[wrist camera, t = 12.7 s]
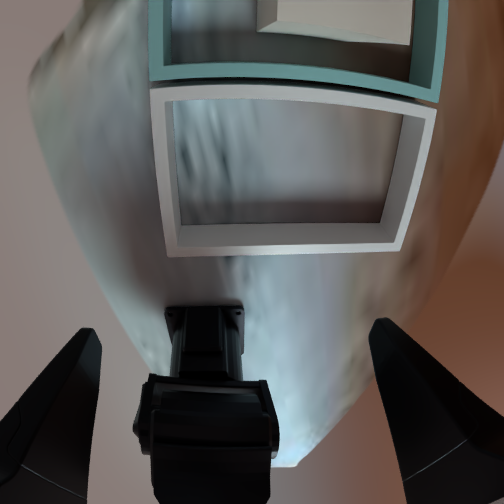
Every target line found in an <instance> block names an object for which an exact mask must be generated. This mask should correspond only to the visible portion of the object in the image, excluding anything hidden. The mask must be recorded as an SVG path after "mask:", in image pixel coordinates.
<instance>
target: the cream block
mask: <svg viewBox="0 0 504 504" xmlns="http://www.w3.org/2000/svg"><path fill="white" fill-rule="evenodd" d="M411 19H412V0H258V1H257V25H256V32H267V33H282V34H293V35H303V36H311V37H319V38H326V39H333V40H339V41H344V42H375V43H390V44H402V45H409V44H410V33H411Z"/></svg>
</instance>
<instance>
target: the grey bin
mask: <svg viewBox="0 0 504 504" xmlns="http://www.w3.org/2000/svg"><path fill="white" fill-rule="evenodd" d="M199 99H275V100H294V101H309V102H320V103H331V104H340V105H348V106H356V107H363V108H370V109H377V110H383V111H389V112H395V113H400V114H404V116H403V122H402V127H401V133H400V138H399V143H398V148H397V153H396V158H395V163H394V167H393V172H392V176H391V181H390V185H389V189H388V193H387V197H386V201H385V205H384V209H383V213H382V217H381V221H380V223H266V224H216V225H181V215H180V205H179V194H178V182H177V170H176V156H175V140H174V123H173V101H180V100H199ZM150 105H151V120H152V133H153V145H154V156H155V166H156V176H157V185H158V193H159V201H160V209H161V217H162V224H163V231H164V238H165V245H166V251H167V257H203V256H242V255H279V254H316V253H351V252H385V251H400V249H401V246H402V243H403V240H404V237H405V234H406V231H407V227H408V224H409V221H410V218H411V215H412V211H413V208H414V205H415V201H416V198H417V194H418V191H419V187H420V183H421V179H422V176H423V172H424V168H425V164H426V159H427V155H428V151H429V147H430V142H431V137H432V133H433V128H434V123H435V117H436V112H437V109H434V108H432V107H430V106H427V105H425V104H423V103H420V102H418V101H416V100H412V99H407V98H402V97H398V96H393V95H388V94H382V93H377V92H371V91H365V90H359V89H352V88H345V87H337V86H329V85H319V84H309V83H297V82H282V81H259V80H211V81H188V82H173V83H161V84H158V85H156V86H154V87H153V88H151V89H150Z"/></svg>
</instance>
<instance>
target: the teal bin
mask: <svg viewBox="0 0 504 504" xmlns="http://www.w3.org/2000/svg"><path fill="white" fill-rule="evenodd" d="M171 12H172V0H148V59H149V81H158V80H170V79H184V78H203V77H265V78H285V79H299V80H311V81H321V82H330V83H338V84H345V85H352V86H359V87H365V88H371V89H377V90H382V91H387V92H392V93H397V94H402V95H406V96H411V97H415V98H419V99H423V100H427V101H431V102H435V103H438V100H439V94H440V88H441V81H442V73H443V65H444V57H445V47H446V35H447V19H448V0H416V1H415V21H414V35H413V47H412V57H411V66H410V75H409V82H405V81H401V80H397V79H392V78H388V77H383V76H378V75H373V74H367V73H362V72H356V71H350V70H343V69H336V68H329V67H321V66H312V65H302V64H290V63H274V62H247V61H218V62H192V63H176V64H171Z"/></svg>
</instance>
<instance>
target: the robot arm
mask: <svg viewBox="0 0 504 504" xmlns="http://www.w3.org/2000/svg"><path fill="white" fill-rule="evenodd" d="M237 311H239V312H237ZM169 312H170V313H169ZM164 315H165V319H166V323H167V327H168V331H169V335H170V339H171V343H172V354H171V365H170V376H160V375H157V374H152V373H150V374H149V378H148V382H145V384H143V385H142V393H141V400H140V405H139V408H138V411H137V414H136V417H135V420H134V423H133V432H134V434H135V435H136V436H137V437H138V438H139V443H140V444H141V451H142V454H144V455H150V459H151V482H152V486H153V488H154V495H155V497H156V499H157V500H158V502H159V504H266V503H267V501H268V500H269V498H270V468H271V459H274V458H275V457H276V456H277V453H278V449H279V441H280V433H279V423H278V419H277V415H276V411H275V408H274V405H273V401H272V398H271V394H270V391H269V388H268V384H267V381H266V380H259V381H243V373H242V360H241V355H242V354H243V353H244V317H245V312H244V308H243V307H242V306H239V305H235V306H193V307H167V308H166V309H165V313H164ZM368 339H369V345H370V350H371V356H372V361H373V366H374V372H375V377H376V381H377V384H378V388H379V392H380V395H381V399H382V402H383V406H384V409H385V413H386V417H387V420H388V424H389V428H390V432H391V435H392V439H393V443H394V447H395V451H396V455H397V460H398V463H399V468H400V473H401V477H402V481H403V486H404V492H405V496H406V501H407V504H504V417H503V416H501V415H500V414H499V413H498V412H496V411H495V410H494V409H492V408H491V407H490V406H489V405H487V404H486V403H485V402H483V401H482V400H481V399H480V398H479V397H477V396H476V395H475V394H474V393H473V392H472V391H470V390H469V389H468V388H467V387H466V386H465V385H464V384H463V383H461V382H459V380H458V379H457V378H456V377H455V376H454V375H453V374H452V373H451V372H449V371H448V370H447V369H446V368H445V367H444V366H443V365H442V364H441V363H439V362H438V361H437V360H436V359H435V358H434V357H433V356H432V355H430V354H429V353H428V352H427V351H426V350H425V349H424V348H423V347H421V346H420V345H419V344H418V343H417V342H416V341H414V340H413V339H412V338H411V337H410V336H409V335H408V334H407V333H405V332H404V331H403V330H402V329H401V328H400V327H399V326H397V325H396V324H395V323H394V322H393V321H392V320H390V319H389V318H387V317H385V318H378V319H376V320H375V322H374V324H373V326H372V329H371V331H370V333H369V338H368ZM101 356H102V345H101V343H100V341H99V339H98V336H97V334H96V332H95V330H94V329H93V328H81V329H80V330H79V331H78V332H77V333H76V334H75V335H74V336H73V337H72V338H71V339H70V340H69V342H68V343H67V344H66V345H65V346H64V347H63V348H62V349H61V350H60V352H59V353H58V354H57V355H56V356H55V357H54V358H53V360H52V361H51V362H50V363H49V364H48V365H47V366H46V368H45V369H44V370H43V371H42V372H41V373H40V375H39V376H38V377H37V378H36V379H35V380H34V381H33V383H32V384H31V385H30V386H29V387H28V389H27V390H26V391H25V392H24V393H23V395H22V396H21V397H20V399H19V400H18V401H17V402H16V403H15V404H14V406H13V407H12V408H11V409H10V410H9V412H8V413H7V414H6V415H5V416H4V418H3V419H2V420H1V421H0V504H87V491H88V490H87V489H88V476H89V464H90V454H91V444H92V436H93V428H94V420H95V414H96V407H97V401H98V394H99V382H100V368H101Z"/></svg>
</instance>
